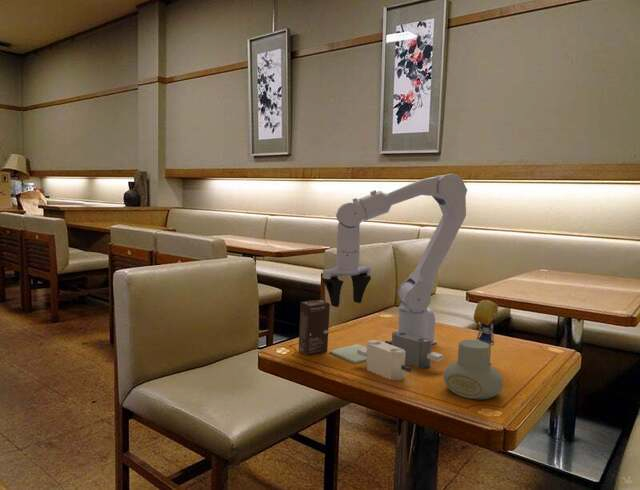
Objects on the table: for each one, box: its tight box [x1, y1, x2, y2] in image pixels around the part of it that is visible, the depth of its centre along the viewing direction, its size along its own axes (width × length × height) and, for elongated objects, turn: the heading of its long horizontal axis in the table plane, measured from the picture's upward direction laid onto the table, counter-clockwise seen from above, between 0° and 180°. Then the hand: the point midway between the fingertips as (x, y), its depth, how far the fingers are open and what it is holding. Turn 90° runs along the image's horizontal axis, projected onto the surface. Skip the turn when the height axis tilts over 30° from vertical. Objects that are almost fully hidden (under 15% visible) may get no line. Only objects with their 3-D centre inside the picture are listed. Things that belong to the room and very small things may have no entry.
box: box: [298, 299, 331, 356], centre depth 115 cm, size 6×4×12 cm
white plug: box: [357, 339, 413, 382], centre depth 102 cm, size 14×4×6 cm, turn 39°
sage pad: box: [329, 343, 367, 365], centre depth 114 cm, size 9×9×1 cm
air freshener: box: [442, 339, 504, 401], centre depth 92 cm, size 11×8×10 cm
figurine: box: [473, 299, 499, 366], centre depth 108 cm, size 5×5×15 cm
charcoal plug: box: [384, 331, 444, 369], centre depth 109 cm, size 14×4×6 cm, turn 46°
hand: (346, 304), depth 122 cm, fingers open, 7 cm apart
